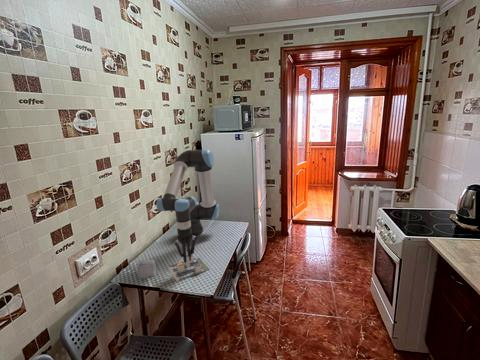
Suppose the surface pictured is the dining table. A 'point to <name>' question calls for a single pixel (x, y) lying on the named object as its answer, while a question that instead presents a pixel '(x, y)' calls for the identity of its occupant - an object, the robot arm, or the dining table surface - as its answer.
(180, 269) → the block
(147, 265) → the medicine box
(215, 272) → the dining table surface
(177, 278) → the panel
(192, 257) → the block
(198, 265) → the block
